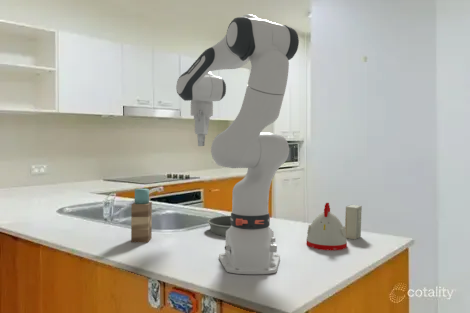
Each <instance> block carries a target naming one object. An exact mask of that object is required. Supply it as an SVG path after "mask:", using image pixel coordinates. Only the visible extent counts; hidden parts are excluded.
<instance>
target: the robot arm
mask: <svg viewBox="0 0 470 313" xmlns="http://www.w3.org/2000/svg"><path fill="white" fill-rule="evenodd" d="M227 27H228V28H227V30H226V34H225V36H224V37H223V38H222V39H221V40H220V41H219V42H217V43H216V44H214V45H213V46H211V47H209V48H207V49H205V50H204V51H203V52H202V53H201V54H200V55H199V56H198V58H197V59H196V60H195V61H194V62H193V63H192V64H191V66H190V67H189V68H188V69H187V70H186V71H185V72H183V73H182V74H181V75H180V76H179V77H178V79H177V81H176V86H175V87H176V88H175V89H176V93H177V95H178V96H179V97H180V98H181V99H182V100H183V101H184V102H186V101H187V102H188V101H189V102H190V116H193V120H194V133H195V135H196V136H197V146H198V147H204V146H205V141H206V140H205V139H206V136H207V135H208V134H209V133H208V132H209V127H210V125H209V124H210V119H211V117H213V116H214V102H218V101H221V100H222V99H224V97H225V96H226V92H227V85H226V84H227V83H226V82H225V80H224V79H223V78H222V77H221V76H218V75H215V74H213V72H215V71H222V70H235V69H237V70H238V69H240V68H242V67H244V66H245V65H246V64H247V63H249V61H250V64H251V69H250V73H249V77H248V80H247V85H246V89H245V93H244V97H243V100H242V104H241V108H240V110H239V112H238V114H237V115H236V117H235V119H234V120H233V122H232V123H231V124H230V125H229V126H228V127H227V128H226V129H225V130H223V131H221V132H220V133H218V134H217V135H216V136H215V137H214V138H213V140H212V142H211V145H210V146H211V148H210V153H211V157H212V159H213V161H214V163H215V164H216V165H217V166H220V167H225V168H230V169H247V171H246V174H245V176H244V177H243V178H242V179H241V180H239V181H238V182H236V183H235V185H234V186H233V188H232V198H231V199H232V200H231V202H232V203H231V204H232V207H231V210H232V211H231V212H230V216H231V217H230V220H231V227H230V228H229V229H228V230H227V231H226V236H225V246H224V250H225V251H224V252H223V253H220V254H219V255H218V259H219V261H220V263H221V264H222V266H223V268H224V270H225V271H226V272H227V273H230V274H237V275H269V274H275V273H277V271H278V268H279V266H280V265H279V264H280V261H281V255H280V254H277V252H278V251H277V249H278V245H277V244H275V243H276V237H275V236H274V230H273V229H271V227H270V221H271V218H270V212H269V201H270V200H269V199H270V188H271V184H272V181H273V179H274V176H275V174H276V173H277V172H278V170H279V168H281V166H282V165H283V164H285V163H286V161H287V160H288V158H289V153H290V146H289V145H290V144H289V143H288V140H287V139H286V138H285V136H282V135H280V134H277V133H273V132H263V130H264V129H265V128H266V127H268V126H270V125H271V124H273V123H276V121H277V120H278V118H279V116H280V111H281V109H282V105H283V104H282V103H283V101H284V96H285V93H286V90H287V84H288V78H289V66H290V65H289V64H290V62H289V61H290V60H292V59H293V58H294V57H295V56H296V53H297V51H298V49H299V43H300V42H299V41H300V40H299V39H300V38H299V35H298V32H297V31H296V29H294V28H293V27H291V26H289V25H287V24H286V25H285V24H281V23H276V22H272V21H269V20H268V19H262V18H259V17H258V16H256V15H253V14H244V15H241V16H239V17H235V18H233V20H231V22H230V23H229V24H228V26H227Z"/></svg>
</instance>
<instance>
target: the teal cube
mask: <svg viewBox="0 0 470 313" xmlns="http://www.w3.org/2000/svg"><path fill="white" fill-rule="evenodd" d="M134 202H135V204H148V203H149V202H150V189H149V188H135V189H134Z"/></svg>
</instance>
